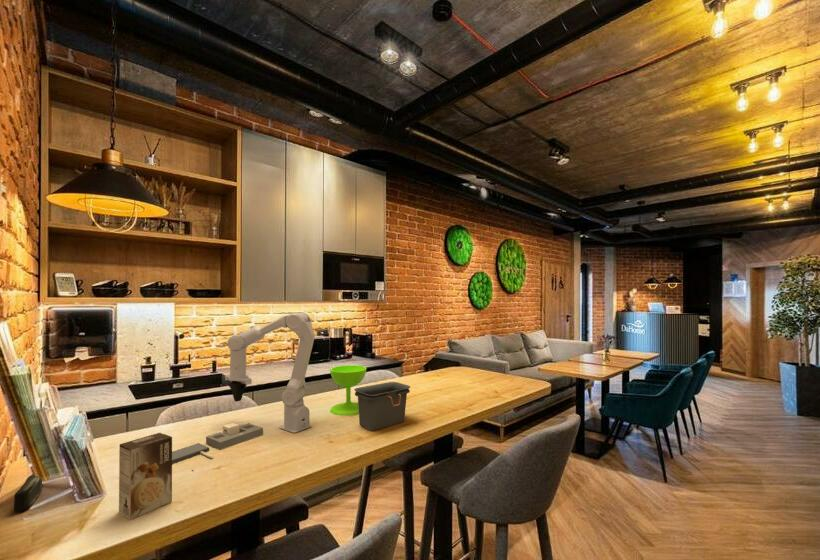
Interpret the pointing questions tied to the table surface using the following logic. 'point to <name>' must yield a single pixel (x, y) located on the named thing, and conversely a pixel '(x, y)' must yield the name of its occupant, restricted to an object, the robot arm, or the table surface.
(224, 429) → the beige cube
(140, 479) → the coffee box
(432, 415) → the table surface
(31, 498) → the black rounded bar
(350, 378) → the wineglass
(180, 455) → the grey flat pronged bracket
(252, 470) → the table surface
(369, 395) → the storage bin
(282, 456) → the table surface
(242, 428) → the grey compartment tray
